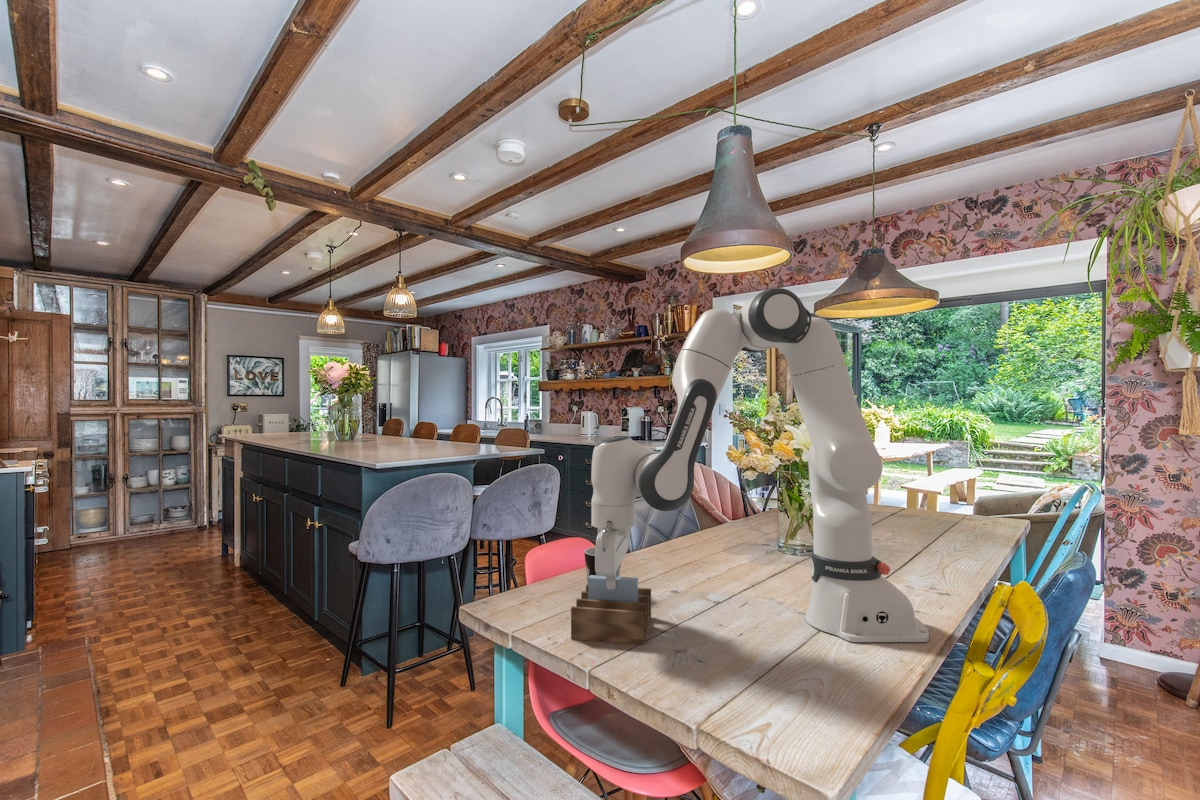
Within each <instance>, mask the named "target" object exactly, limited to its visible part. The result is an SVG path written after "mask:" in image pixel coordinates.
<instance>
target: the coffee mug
mask: <svg viewBox="0 0 1200 800" xmlns="http://www.w3.org/2000/svg"><path fill="white" fill-rule="evenodd" d="M583 551H584V562H585V568H586V570H585V571H586V579H587V582H588V578H589V576H590V575H596V572H595V551H596V546H593V547H588V548H586V549H585V550H583Z"/></svg>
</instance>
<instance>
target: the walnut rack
mask: <svg viewBox="0 0 1200 800" xmlns="http://www.w3.org/2000/svg"><path fill="white" fill-rule="evenodd" d="M580 594H581V598H576V601H575V602H576V606H571V607H570V639H571V640H577V639H578V640H580V641H589V640H590V641H591V642H603V643H604V642H605V643H613V644H614V643H616V644H625V645H626V644H627V645H638V646H644V645H645V642H646V641H645V640H646V637H647V633H648V630H649V626H650V622H651V618H652V588H649V587H647V588H645V587H638V603H636V602H621V601H607V600H593V599H588V583H587V584H586V585H585V591H584V590H582V591H581V593H580Z"/></svg>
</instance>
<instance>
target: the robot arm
mask: <svg viewBox="0 0 1200 800" xmlns="http://www.w3.org/2000/svg"><path fill="white" fill-rule="evenodd" d="M773 348H776V349H778V351H780V352H781V354H782V355H783V356H784V358H785V360H786V362H787V366H788V372H789V376H790V380H791V383H792V387H793V391H794V394H795V399H796V401H797V406H798V409H799V413H800V415H801V417H802V420H803V423H804V425H805V427H806V430H807V433H808V437H809V438H810V439H809V440H810V442H811V444H810V447H809V449H808V451H807V460H808V461H807V462H808V463H807V465H808V475H809V476H808V477H809V488H810V489H809V490H810V496H811V505H812V521H813V524H812V525H813V526H812V527H813V530H812V531H813V534H812V536H813V537H812V538H813V540H812V541H813V545H812V546H813V549H812V551H811V555H810V577H811V580H812V581H811V591H810V596H809V600H808V601H809V602H808V605H807V610H806V614H805V616H804V617H805V618H804V619H805V621H806V622H807V624H809V625H811V626H812V627H814V628H815V629H817V630H820V631H822V632H826V633H829V634H832V635H835V636H837V637H840V638H841V639H843V640H845V641H847V642H852V643H926V642H927V643H928V641H929V639H930V634H929V633H930V632H929V630H928V627H927V626H926V625H925V624H924V623H923V622H922V621H920V620H919V619H918V618H917V617H916V614H915V610H914V606H913V604H912V602H911V600H910V599H909V598H908V597H907V595H906V594H904V593H903V592H902V591H901V590H900V589H899V588H897V587H896V586H895V585H894V584H893V583H891V582H890V581H889V580H888V579H886V578H885V577H884V576H888V575H889V573H890V574H891V567H890V566H889V565H888V564H887V563H885V562H883V561H881V560H880V559H878V558H877V557H875V556H874V555H873V553H872V551H873V550H872V543H873V542H872V540H873V539H872V537H873V536H872V527H873V526H872V515H871V513H870V509H869V504H868V499H867V494H866V490H868V489H871V488H872V487H874V486H875V485H876V484H877V483H878V481H879V480H880V478H881V476H882V474H883V473H882V472H883V461H882V458H881V456H880V453H879V452H878V450H877V448H876V446H875V444H874V440H873V438H872V435H871V432H870V430H869V428H868V426H867V423H866V421H865V418H864V416H863V413H862V411H861V409H860V407H859V404H858V401H857V399H856V395H855V392H854V388H853V385H852V384H853V383H852V381H851V380H852V379H851V376H850V373H849V371H848V366H847V363H846V357H845V356H844V353H843V350H842V347H841V344H840V341H839V339H838V337H837V335H836V333H835V331H834V329H833V327H832V325H831V324H830V322H829V321H828V320H827V319H825V318H822V317H816V316H812V315H811V312H810V311H809V310H808V309H807V307H805V306H804V304H803V302H802V301H801V299H800V298H799V297H798V295H796V294H795V293H794V292H792V291H791V290H789V289H786V288H782V287H772V288H769V289H765V290H762V291H760V292H759V293H758V294H757V295H755V296H754V297H752V298H751V299H749V300H747V301H746V302H745V303H744V304H743V306H742V307H741V308H740V309H738V310H737V311H736V312H730V311H727V310H725V309H720V308H713V309H708V310H706V311H704V312H703V313H702V314H700V317H698V319H697V320H696V322H695V324H694V325H693V327H692V328H691V330H690V332H689V333H688V335H687V338H686V339H685V341H684V343H683V345H682V347H681V349H680V351H679V353H678V356H677V359H676V361H675V365H674V367H673V371H672V372H673V373H672V375H671V376H672V377H671V382H672V387H673V389H674V391H675V393H676V397H677V409H676V414H675V416H674V419H673V421H672V424H671V427H670V429H669V432H668V435H667V438H666V440H665V442H664V446H663V447H662V449H661V450H660V452H659V451H655V450H653V449H650V448H648V447H646V446H643V444H639V442H636V441H635V440H633V439H632V438H631V437H630V436H627V435H622V436H612V437H609V438H604V439H601V440H600V441H598V442H597V443H596V444H595V446H594V447H593V450H592V451H593V452H592V456H591V457H592V458H591V471H590V472H591V473H590V474H591V475H590V476H591V478H590V479H591V485H592V488H593V489H592V490H593V491H592V492H593V493H592V497H591V501H590V502H591V504H590V505H591V511H590V512H591V518H590V519H591V522H590V523H591V524H590V525H591V526H592V527H593V528H596V529H597V535H596V540H595V547H596V551H595V572H596V575H599V576H605V577H606V587H607V589H612V590H614V589H615V588H616V577H621V567H622V561H623V560H624V557H625V556H626V554H627V552H628V550H629V548H630V541H631V529H632V528H633V527H635V525H636V515H635V514H636V507H635V505H636V503H635V502H636V498H643V499H644V501H645V502H646V503H647V505H649V506H650V507H651V508H653V509H654V510H658V511H662V512H671V511H675V510H678V509H680V508H681V507H683V506H684V505H685V504H686V503H687V502H688V501H689V499H690V498H691V496H692V493H693V491H694V487H695V486H694V485H695V464H696V459H697V455H698V454H699V451H700V447H701V445H702V443H703V440H704V436H705V434H706V431H707V429H708V425H709V422H710V420H711V417H712V415H713V411H714V408H715V406H716V404H717V401H718V399H719V396H720V394H721V392H722V390H723V388H724V386H725V384H726V381H727V380H728V378H729V375H730V373H731V370H732V368H733V365H734V362H735V360H736V357H737V356H738V355H739V353H740V352H741V351H742V352H748V353H761V352H764V351H767V350H771V349H773ZM883 575H884V576H883Z"/></svg>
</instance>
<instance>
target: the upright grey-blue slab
mask: <svg viewBox="0 0 1200 800" xmlns="http://www.w3.org/2000/svg"><path fill="white" fill-rule="evenodd" d="M587 584H588V599H593V600H607V601H621V602H636V603H638V588H639V577H627V576H620V577H616V588H615V589H614V590H612V589H607V587H606V577H605V576H599V575H590V576H589V578H588V581H587Z"/></svg>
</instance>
